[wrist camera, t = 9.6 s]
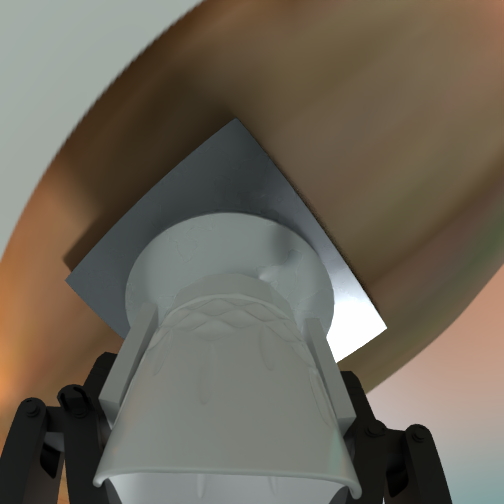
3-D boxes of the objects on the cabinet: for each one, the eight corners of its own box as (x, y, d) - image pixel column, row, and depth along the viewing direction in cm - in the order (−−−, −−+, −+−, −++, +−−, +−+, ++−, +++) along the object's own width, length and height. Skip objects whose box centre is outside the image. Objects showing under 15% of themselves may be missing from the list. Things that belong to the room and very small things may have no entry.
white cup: (130, 285, 14) (38, 456, 5) (284, 238, 13) (360, 435, 4) (192, 389, 17) (175, 537, 8) (316, 360, 16) (362, 516, 7)
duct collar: (236, 118, 14) (235, 115, 12) (381, 320, 19) (391, 335, 17) (71, 273, 17) (59, 286, 15) (228, 410, 22) (227, 426, 20)
